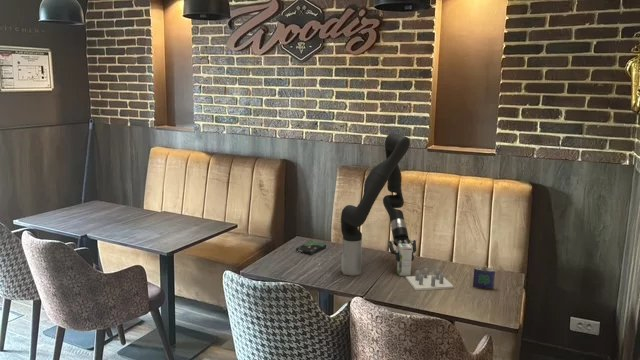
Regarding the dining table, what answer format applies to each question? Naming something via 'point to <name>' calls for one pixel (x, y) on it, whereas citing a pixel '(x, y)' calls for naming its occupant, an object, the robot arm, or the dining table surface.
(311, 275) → the dining table surface
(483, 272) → the flask
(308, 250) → the disk drive
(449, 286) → the dock
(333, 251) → the dining table surface
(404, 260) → the syrup box
